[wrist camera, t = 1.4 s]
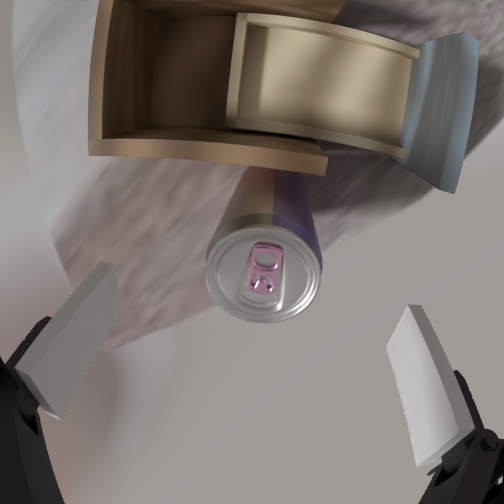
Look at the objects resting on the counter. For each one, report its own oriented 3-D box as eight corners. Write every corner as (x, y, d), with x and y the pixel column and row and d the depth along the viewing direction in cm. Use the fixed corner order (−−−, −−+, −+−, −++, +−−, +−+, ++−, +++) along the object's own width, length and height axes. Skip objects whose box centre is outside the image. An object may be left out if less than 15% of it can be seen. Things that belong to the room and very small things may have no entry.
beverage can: (309, 163, 26) (339, 235, 13) (297, 222, 29) (308, 333, 16) (244, 152, 26) (204, 213, 13) (236, 212, 29) (198, 316, 16)
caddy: (328, 17, 19) (350, -18, 11) (310, 151, 25) (325, 176, 17) (151, 10, 19) (102, -15, 11) (141, 136, 26) (88, 155, 18)
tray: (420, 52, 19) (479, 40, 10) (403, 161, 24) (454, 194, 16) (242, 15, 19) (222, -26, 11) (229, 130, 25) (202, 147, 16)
